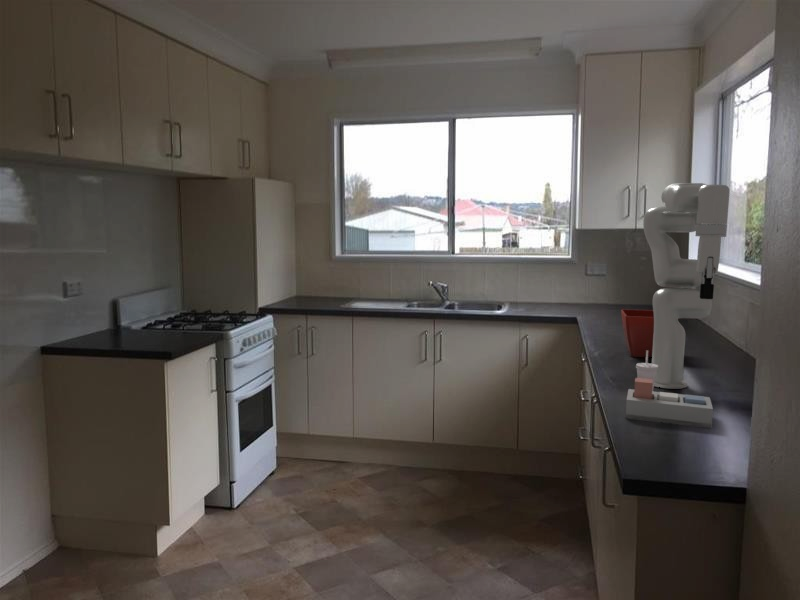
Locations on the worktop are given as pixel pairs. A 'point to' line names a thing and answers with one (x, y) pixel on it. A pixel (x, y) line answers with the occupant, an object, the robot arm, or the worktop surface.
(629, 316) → the plant pot
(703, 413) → the keypad housing
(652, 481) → the worktop surface
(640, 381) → the red key
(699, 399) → the blue key
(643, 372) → the smoothie
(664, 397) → the white key
